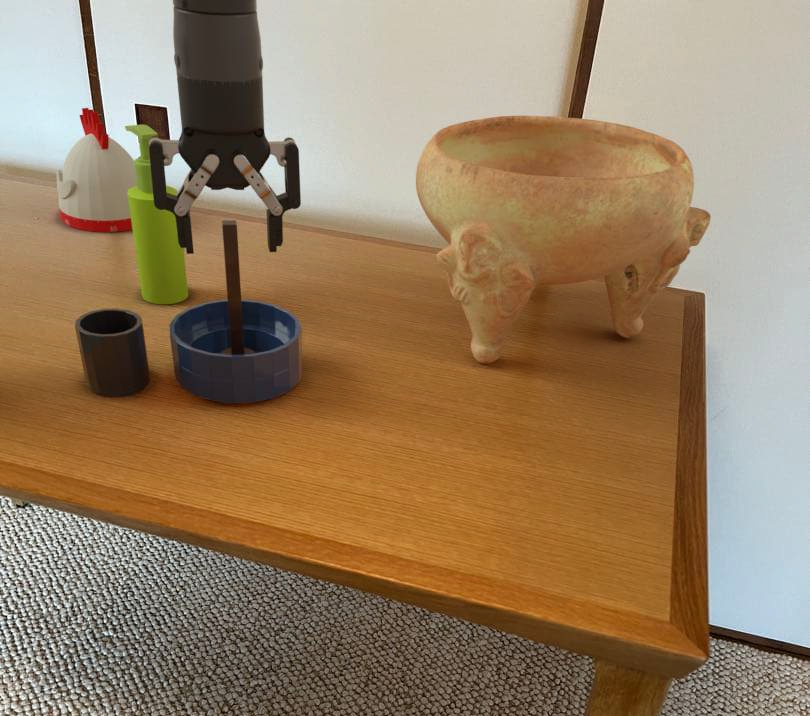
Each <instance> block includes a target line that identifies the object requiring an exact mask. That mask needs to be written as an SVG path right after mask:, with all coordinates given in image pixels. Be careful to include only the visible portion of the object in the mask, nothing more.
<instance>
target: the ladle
mask: <svg viewBox="0 0 810 716" xmlns="http://www.w3.org/2000/svg"><path fill="white" fill-rule="evenodd" d="M221 227H222V228H221V230H222V243H223V244H222V245H223V255H224V269H225V270H224V271H225V283H226V284H225V285H226V300H228V314H229V328H230V342H231V348H228V349H225V350H223V351H222V352H221V353H220V354H226V355H244V354H255V352H254V351H253V350H251V349H249V348H245V347H244V336H243V319H242V303H241V299H242V288H241V271H240V256H239V255H240V253H239V237H238V236H239V235H238V224H237V220H236V219H230V220H229V219H227V220H226V219H223V220H221Z"/></svg>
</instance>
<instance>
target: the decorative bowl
mask: <svg viewBox="0 0 810 716" xmlns="http://www.w3.org/2000/svg"><path fill="white" fill-rule="evenodd" d="M694 188H695V176H694V169H693V164H692V163H691V161H690V158H689V156H688V154H687V153H686V152H685V150H684V149H683V148H682V147H681V146H680V145H678V144H677V143H676V142H674V141H672V140H670V139H668V138H665V137H664V136H661V135H658V134H656V133H653V132H649V131H646V130H644V129H641V128H637V127H634V126H629V125H625V124H620V123H617V122H609V121H603V120H596V119H587V118H579V117H578V118H577V117H564V116H563V117H562V116H551V115H549V116H548V115H545V116H544V115H501V116H493V117H486V118H481V119H473V120H467V121H463V122H459V123H453V124H452V125H448V126H446V127H443V128H441V129H439V130H438V131H437V132H435V134H433V135H432V137H431V138H430V139H429V140H428V142H427V143H426V145H425V146H424V148H423V149H422V152H421V154H420V156H419V158H418V161H417V165H416V171H415V189H416V195H417V197H418V201H419V203H420V207H421V208H422V210H423V212H424V214H425V215H426V217H427V219H428V220H429V222H430V223H431V224H432V226H433V227H434V229H435V230H436V231H437V232H438V234H439V235H440V236H441V237H442V238H443V239H444V240H445V242H446V243H447V244H448V246H446V247H444V248H443V249H441V250H439V251H438V252H437V253H436V255H435V262H436V264H437V265H438V266H439V267H440V268H441V269H443V270H444V271H445V274H446V280H447V284H448V287H449V291H450V294H451V296H452V298H453V299H454V300H455V301H457V302H459V303H460V306H461V308H462V310H463V312H464V315H465V317H466V319H467V323H468V327H469V329H470V332H471V336H472V338H471V341H470V350H471V353H472V356H473V357H474V359H475V360H476V361H477V362H478V363H480V364H485V365H488V364H491V363H493V362H495V361H497V360H498V359H500V356H501V355H502V351H503V349H504V346H505V342H506V340H507V337H508V334H509V332H510V330H511V327H513V324H514V322H515V321H516V319H517V318H518V317H519V314H520V312H521V311H522V310H523V308H524V307H525V306H526V305H527V304H528V302H529V300H530V298H531V296H532V294H533V292H534V290H535V288H536V286H537V285H548V286H553V285H554V286H556V285H557V286H558V285H571V284H577V283H583V282H588V281H589V282H590V281H593V280H597V279H600V278H603V279H604V282H605V288H606V291H607V296H608V302H609V307H610V313H611V319H612V325H613V327H614V330H615V332H616V333H617V334H618V335H619V336H621V337H623V338H624V339H625V338H626V339H630V338H634V337H636V336H638V335H639V334H640V333H641V331H642V329H643V327H644V320H643V318H642V315H643V314H644V312H645V311H646V310H647V308H648V307H649V305H650V304H651V303H652V302H653V300H654V299H655V298H656V297H657V295H658V294H659V293H661V292H662V291H664V290H665V289H666V288H668V287H669V286H670V284H671V283H672V281H673V280H674V279H675V277H676V276H677V275H678V273H679V270H680V268H681V264H683V263H684V262H685V261H686V260H687V258H688V256H689V254H690V253H691V249H690V248H692V247H696V246H698V245H699V244H700V243H701V240H702V239H703V237H704V235H705V234H706V231H707V229H708V227H709V226H710V223H711V214H710V212H709V211H707V210H705V209H702V208H698V207H693V206H691V204H692V201H693V196H694V190H695V189H694Z"/></svg>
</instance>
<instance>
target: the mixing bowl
mask: <svg viewBox="0 0 810 716" xmlns="http://www.w3.org/2000/svg"><path fill="white" fill-rule="evenodd" d="M241 303H242V319H243V336H244V347H245V348H249V349H251V350H253V351H254V352H255V354H244V355H226V354H220V353H221V352H222V351H223V350H225V349H228V348H231V342H230V328H229V314H228V300H227V299H219V300H212V301H207V302H202V303H199V304H196V305H193V306H189V307H187V308H184V310H181V312H179V313H178V314H176V315H174V317H173V318H172V320H171V321H170V323H169V338H170V339H169V340H170V348H171V356H172V364H173V372H174V378H175V380H176V382H177V383H178V384H179V386H180V387H181V388H182V389H183V390H185V391H186V392H188V393H190V394H192V395H193V396H196V397H199V398H202V399H206V400H209V401H213V402H218V403H228V404H229V403H230V404H243V403H247V404H248V403H258V402H261V401H266V400H270V399H274V398H277V397H279V396H281V395H284V394H286V393H287V392H289V391H291V390H292V389H293V388H294V387H295V386H296V385H298V383H299V382H300V381H301V378H302V375H303V327H302V324H301V320H300V319H299V318H298V317H297V316H296V315H295V314H294V313H292V312H291V310H287V309H285V308H283V307H281V306H280V305H276V304H272V303H269V302H265V301H260V300H252V299H244V298H241Z"/></svg>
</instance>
